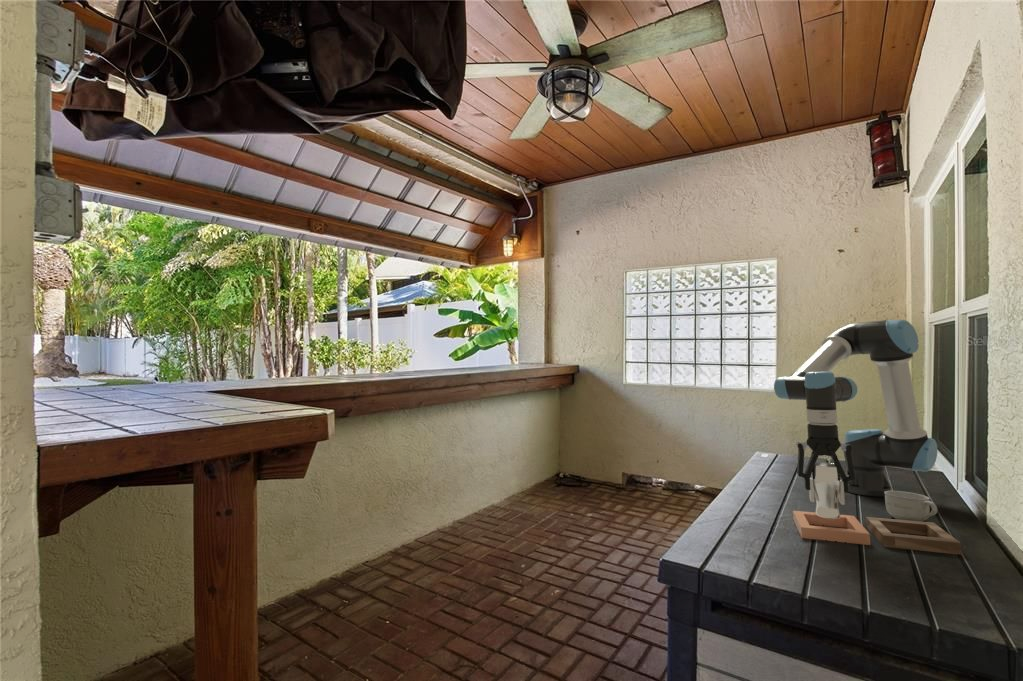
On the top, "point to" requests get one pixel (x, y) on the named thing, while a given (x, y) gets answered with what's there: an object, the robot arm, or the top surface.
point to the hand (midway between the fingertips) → (826, 502)
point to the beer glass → (826, 489)
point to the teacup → (909, 506)
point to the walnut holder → (933, 543)
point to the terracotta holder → (850, 535)
